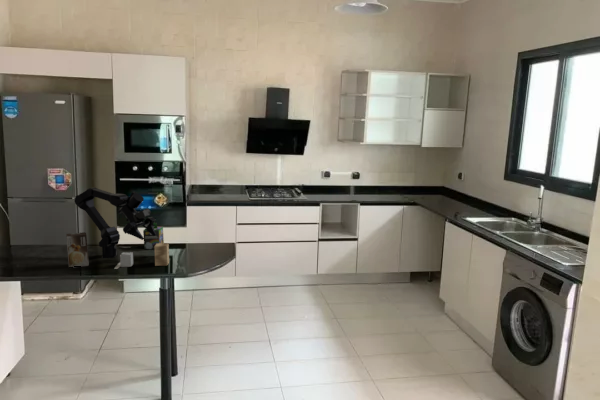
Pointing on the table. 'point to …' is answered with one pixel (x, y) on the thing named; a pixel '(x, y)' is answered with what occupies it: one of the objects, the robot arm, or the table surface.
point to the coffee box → (77, 249)
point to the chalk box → (153, 237)
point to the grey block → (126, 259)
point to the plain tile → (117, 266)
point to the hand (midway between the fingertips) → (149, 237)
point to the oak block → (161, 254)
